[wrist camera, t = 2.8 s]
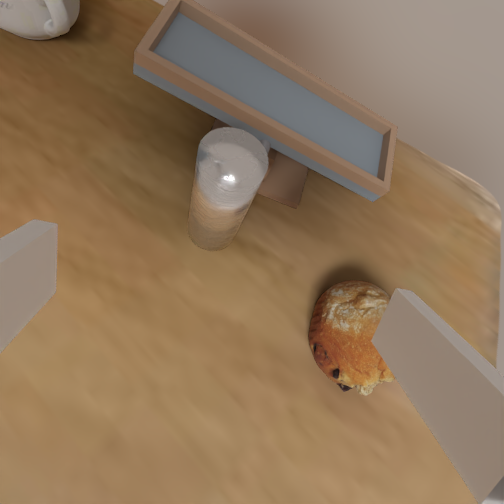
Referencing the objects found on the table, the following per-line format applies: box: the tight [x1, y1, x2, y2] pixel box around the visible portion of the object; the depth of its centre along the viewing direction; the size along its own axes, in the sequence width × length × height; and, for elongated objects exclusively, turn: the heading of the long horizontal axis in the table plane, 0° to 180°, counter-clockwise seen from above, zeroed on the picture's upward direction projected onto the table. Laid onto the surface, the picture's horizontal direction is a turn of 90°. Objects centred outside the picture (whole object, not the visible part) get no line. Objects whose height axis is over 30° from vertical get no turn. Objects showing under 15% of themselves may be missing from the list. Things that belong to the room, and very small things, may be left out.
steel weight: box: [187, 127, 269, 251], centre depth 28 cm, size 5×5×12 cm
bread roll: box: [309, 280, 395, 396], centre depth 31 cm, size 10×10×8 cm
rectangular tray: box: [133, 0, 398, 202], centre depth 32 cm, size 26×11×3 cm, turn 73°
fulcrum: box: [195, 118, 309, 208], centre depth 36 cm, size 12×12×5 cm
